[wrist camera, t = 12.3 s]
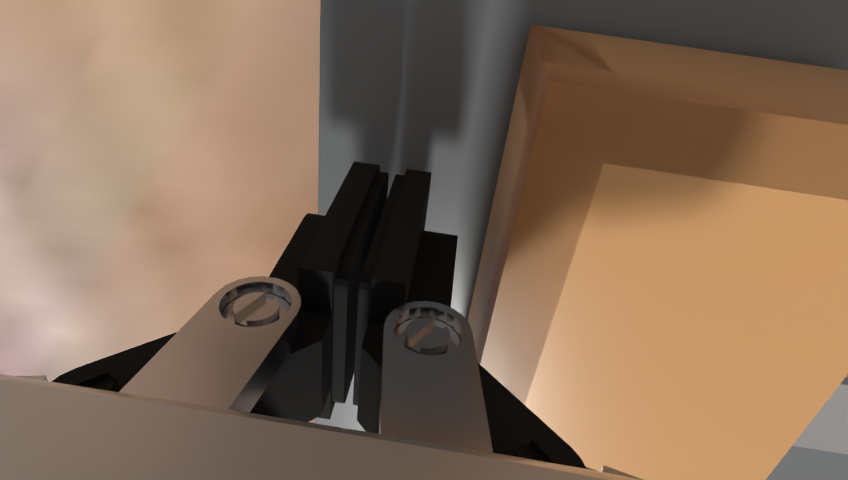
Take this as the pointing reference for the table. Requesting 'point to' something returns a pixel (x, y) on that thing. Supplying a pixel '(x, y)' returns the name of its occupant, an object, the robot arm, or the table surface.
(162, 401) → the robot arm
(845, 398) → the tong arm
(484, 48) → the board
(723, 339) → the tray
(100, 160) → the table surface
